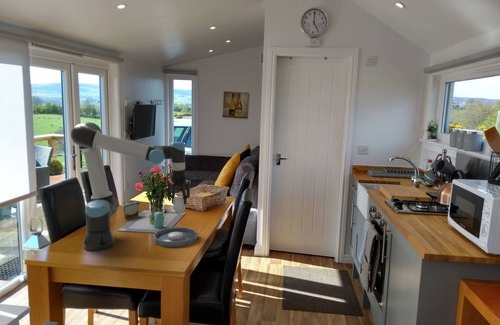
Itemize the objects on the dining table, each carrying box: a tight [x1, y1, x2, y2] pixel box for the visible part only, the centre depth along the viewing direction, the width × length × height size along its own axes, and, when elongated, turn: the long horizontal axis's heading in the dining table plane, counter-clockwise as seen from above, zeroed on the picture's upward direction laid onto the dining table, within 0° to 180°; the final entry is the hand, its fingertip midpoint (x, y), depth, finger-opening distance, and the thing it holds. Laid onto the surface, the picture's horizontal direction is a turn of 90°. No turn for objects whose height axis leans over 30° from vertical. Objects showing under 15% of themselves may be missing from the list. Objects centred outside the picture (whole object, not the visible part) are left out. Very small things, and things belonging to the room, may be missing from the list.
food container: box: [121, 200, 141, 220], centre depth 250 cm, size 12×6×10 cm, turn 141°
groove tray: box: [152, 226, 199, 248], centre depth 212 cm, size 24×24×3 cm
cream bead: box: [174, 195, 185, 215], centre depth 217 cm, size 5×5×9 cm
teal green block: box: [154, 211, 164, 229], centre depth 231 cm, size 5×5×9 cm
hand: (179, 209), depth 217 cm, fingers closed on cream bead, 4 cm apart
